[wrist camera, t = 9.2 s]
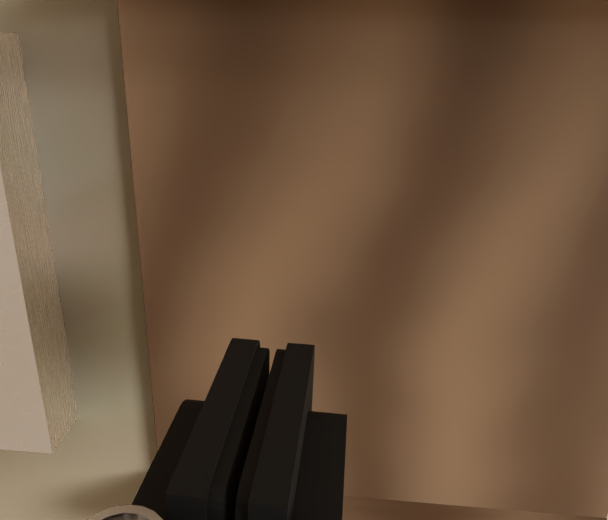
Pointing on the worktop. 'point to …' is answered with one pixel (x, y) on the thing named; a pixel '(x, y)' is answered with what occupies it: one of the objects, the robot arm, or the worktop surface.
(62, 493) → the worktop surface
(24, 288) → the cover plate
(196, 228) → the walnut case
